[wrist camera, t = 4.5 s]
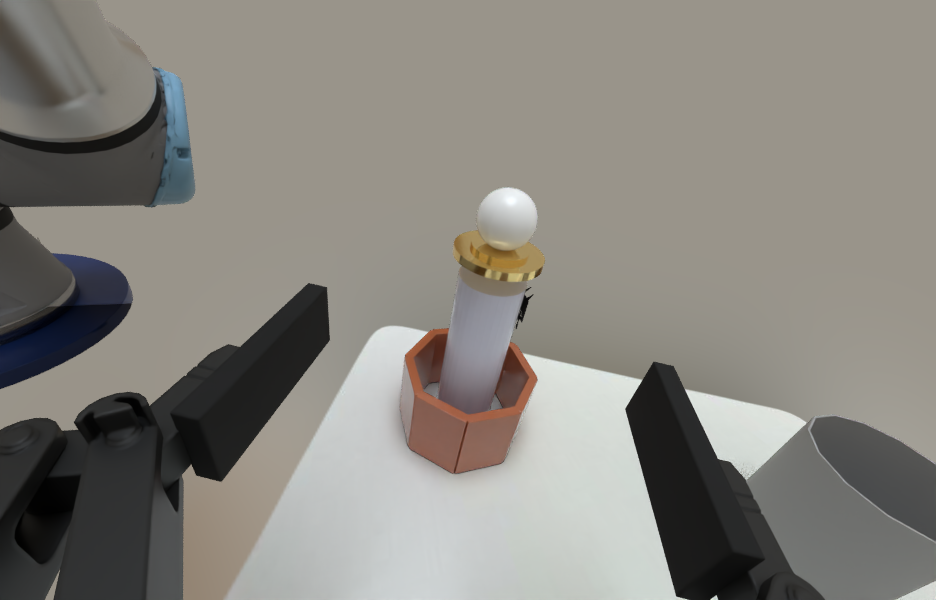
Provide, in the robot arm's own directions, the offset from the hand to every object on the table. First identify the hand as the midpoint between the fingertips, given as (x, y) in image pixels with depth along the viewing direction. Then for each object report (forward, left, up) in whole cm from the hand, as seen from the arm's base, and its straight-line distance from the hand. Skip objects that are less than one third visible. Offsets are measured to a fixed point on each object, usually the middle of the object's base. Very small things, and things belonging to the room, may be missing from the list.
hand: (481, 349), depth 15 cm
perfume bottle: (+4, +9, -16) cm, 19 cm away
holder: (+4, +9, -16) cm, 19 cm away
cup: (+24, -7, -16) cm, 30 cm away
